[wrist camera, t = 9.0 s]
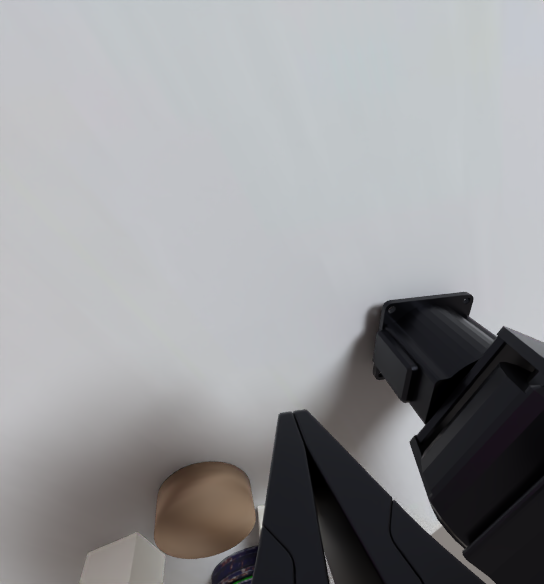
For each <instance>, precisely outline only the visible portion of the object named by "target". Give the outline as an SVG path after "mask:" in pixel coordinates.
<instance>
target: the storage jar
mask: <svg viewBox="0 0 544 584" xmlns="http://www.w3.org/2000/svg"><path fill="white" fill-rule="evenodd" d="M258 547H259V546H255V547H251V548H247V549H244V550H241V551H238V552H236V553H234V554H232V555H230V556H228V557H227V558H225V559H224V560H223V561H221V562H220V563H219V564H218V565H217V566H216V568H215V569H214V571H213V573H212V584H251V581H252V577H253V573H254V568H255V563H256V557H257V552H258Z"/></svg>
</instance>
